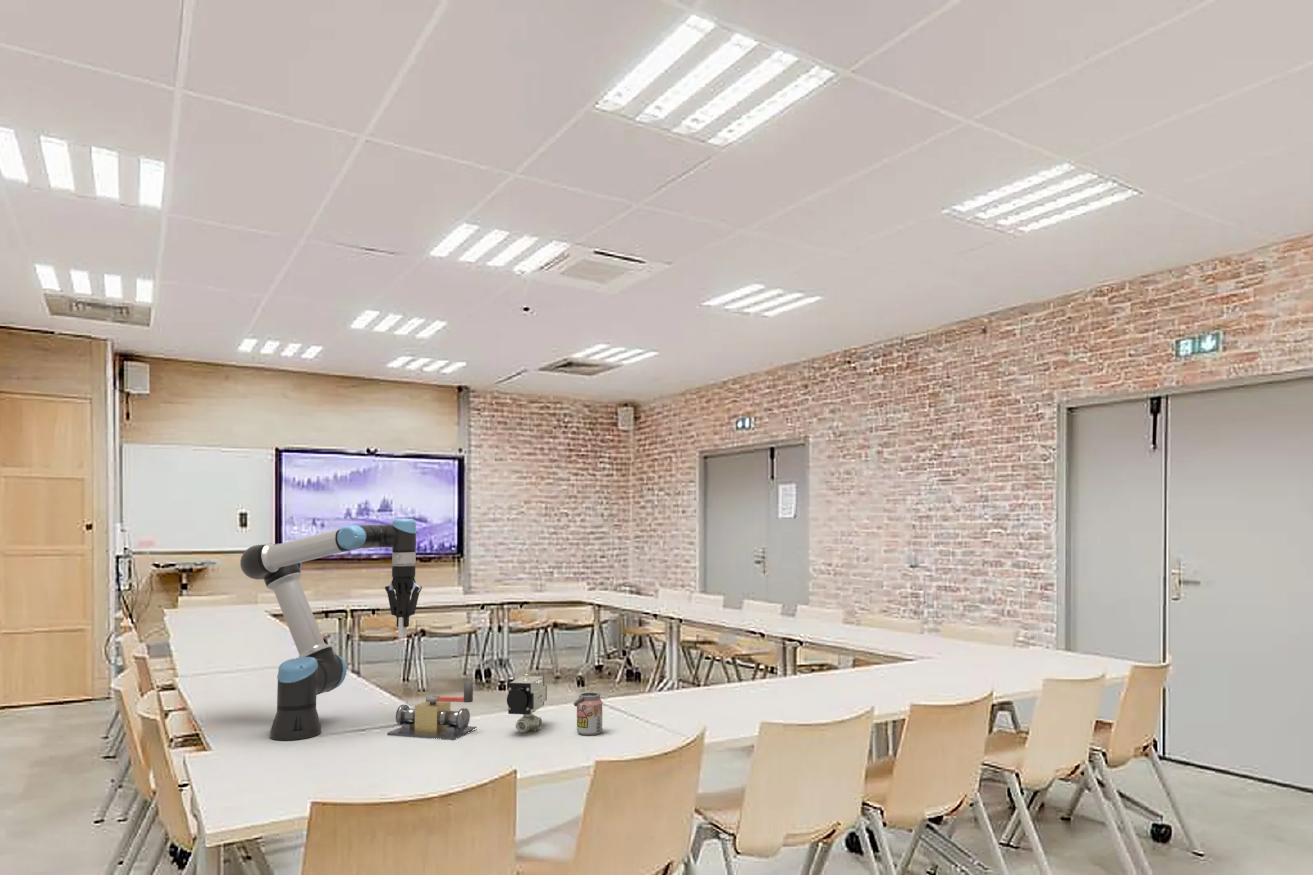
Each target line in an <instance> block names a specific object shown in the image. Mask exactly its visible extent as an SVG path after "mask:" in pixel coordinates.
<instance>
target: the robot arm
mask: <svg viewBox="0 0 1313 875" xmlns="http://www.w3.org/2000/svg"><path fill="white" fill-rule="evenodd" d="M416 523H417V522H416V520H415V519H414V518H398V519H397V518H394V519H392V524H365V525H359V524H357V525H356V524H352V525H346V526H343V527H342V528H340V529H335V530H331V531H328V532H323V533H320V534H315V535H311V536H307V537H303V538H300V539H295V540H290V541H286V542H283V543H265V544H255V545H253V546H250V547H249V548H247V549H245V551H244V552H243V554H242V555H241V557H240V560H239V562H240V569H241V571H242V572H243V574H244V575H245V576H246V577H248V578H249V579H252V580H263V581H264V583H265V586H266V588H267V589H268V590H272V591H273V593H274V594H275V598H276V601H277V603H278V606H279V607H280V610H281V612H282V616H283V619H284V620H285V623H286V625H287V628H288V629H289V633H290V634H291V637H292V640H293V642H294V644H295V645H294V646H295V647H296V650H297V653H298V657H296V658H291V659H287V660H285V661H283V662H281V663H280V665H279V666H278V671H277V672H278V673H277V678H276V679H277V695H276V699H277V700H276V713H275V715H274V716H275V717H274V719H273V722H272V725H271V728H270V732H269V738H270V739H272V740H275V741H296V740H304V739H310V738H313V737H316V736H319V735H320V734H321V733H322V723H321V721H320V716H319V713H318V709H317V696H318V695H321V694H325V693H328V692H331V691H333V690H335V689H337V688H338V687H340V686H341V685H342V683H343V682H344V681H345V679H346V676H347V671H348V670H347V667H348V666H347V663H346V661H345V659H344V658H343V657H342V656H340V655H338V654H336V653H334V649H333V647H332V646H331V645H330V644H328V643H327V644H326V643H325V641H324V637H323V635H322V632H321V631H320V628H319V626H318V623H317V620H316V618H315V616H314V614H313V612H312V609H311V606H310V604H309V600H308V599H307V596H306V594H305V592H304V589H303V586H302V584H301V582H300V579H301V577H302V571H301V569H302V564H303V563H304V562H305V563H306V562H307V561H312V560H313V561H314V560H317V559H319V558H324V557H328V556H333V555H337V554H340V553H345V552H350V551H354V550H359V549H374V548H392V552H391V553H392V554H391V558H392V560H391V563H392V565H393V566H392V567H391V577H392V578H391V579H392V580H391V583H390V584H389V585H387V586H385V587H384V589H385V591H386V593H387V598H388V604H389V609H390V614H391V615H392V616H395V617H396V627H397V632H398V633H397V634H398V637H397V638H398V639H399V638H400V639H401V638H402V639H403V638H407V636H408V627H409V626H410V617H411V616H413V615H415V614H416V610H417V609H416V608H417V604H418V600H419V596H420V593H421V591H422V590H423V586H422V585H418V584H417V582H416V579H415V578H416V566H415V564H416V562H417V561H416V558H417V555H416V553H417V550H416V543H417V540H416V539H417V524H416Z"/></svg>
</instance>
